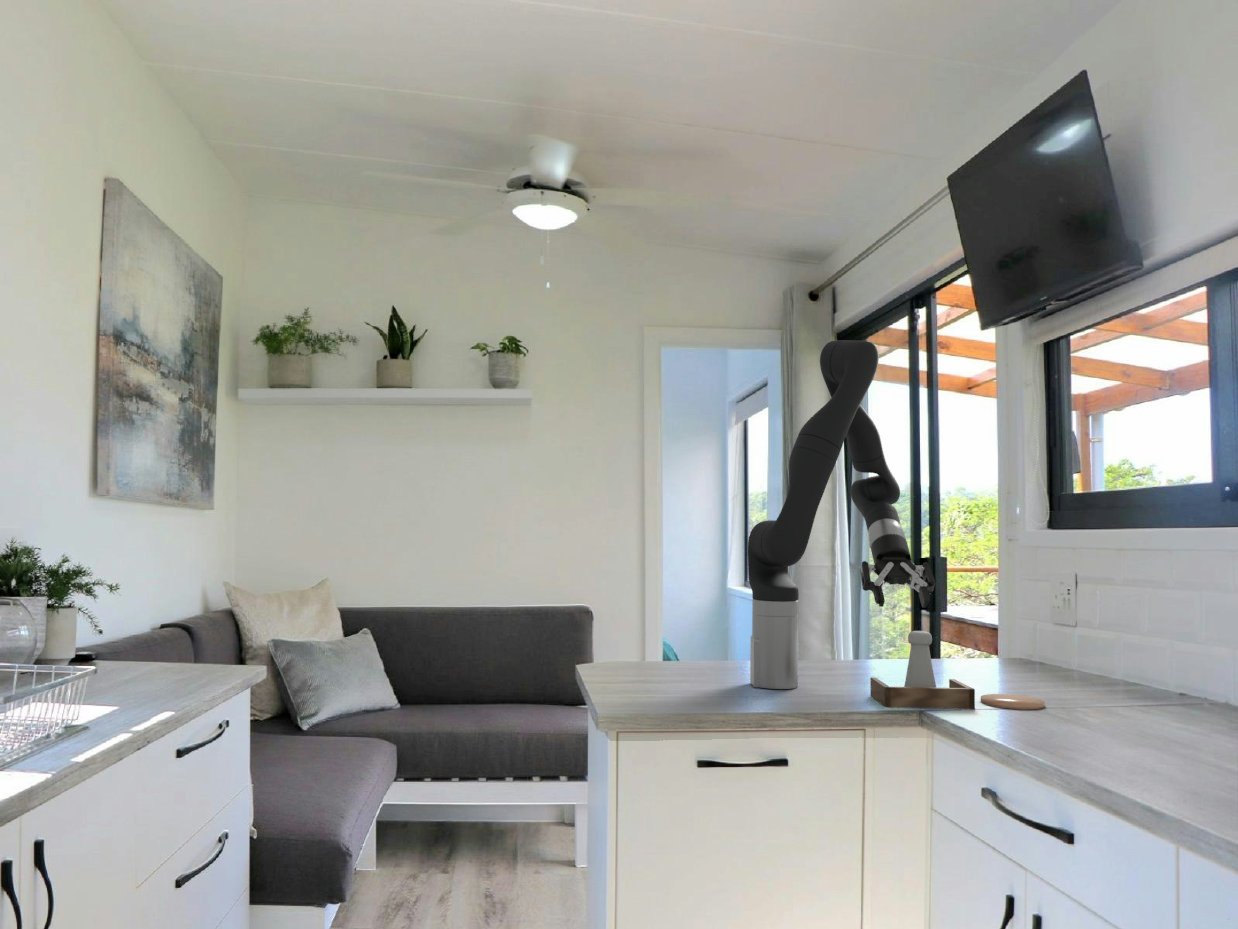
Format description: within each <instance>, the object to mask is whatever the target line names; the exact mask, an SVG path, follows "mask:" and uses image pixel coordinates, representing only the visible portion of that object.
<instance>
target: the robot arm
mask: <svg viewBox="0 0 1238 929" xmlns="http://www.w3.org/2000/svg"><path fill="white" fill-rule="evenodd" d="M879 358H880V357H879V350H878V348H877V346H876V345H875V344H874V343H873V342H872V341H868V340H857V339H856V340H855V339H854V340H851V339H850V340H845V339H843V340H842V339H841V340H840V339H839V340H831V341H828V342H827V343H826V344H825V345H824V346H823V348H822V350H821V352H820V356H819V365H820V366H819V368H820V371H821V375H822V377H823V380H824V383H825V386H826V388H827V390H828V392H829V395H830V399H829V400H828V401H827V402H826V403H825V404H824V405H823V406H822V407H821V408H820V409H819V410H817V411H816V413H814V414H813V415H812V416H811V417H810V418H809V419H808V420H807V421H806V422H805V423H804V425H803V426H802V427H801V429H800V431H799V433H798V434H797V437H796V439H795V442H794V444H793V447H792V450H791V451H790V455H789V459H788V490H787V495H786V498H785V501H784V503H783V505H782V507H781V508H782V509H781V510H780V512H779V514H778V517H777V518H776V519H775V520H771V519H770V520H763V521H759V522H757V523H756V524H755V525H754V526H753V527H752V528H751V531H750V533H749V536H748V541H747V570H748V571H747V573H748V583H749V585H750V589H751V591H752V594H751V597H752V600H751V601H752V611H751V612H752V613H751V614H752V615H751V616H752V618H751V621H752V622H751V623H752V624H751V625H752V626H751V628H752V629H751V635H750V658H749V659H750V664H749V665H750V666H749V667H750V672H749V673H750V674H749V675H750V678H749V680H750V684H751V685H752V687H753V688H761V689H762V688H763V689H771V690H787V689H789V690H790V689H795V688H798V687H799V594H800V593H799V588H798V586H797V584H795V583H794V581H793V580H792V579H791V577H790V574H789V567H791V566H793V565H795V564H797V563H798V562H799V561H800V560H801V559H802V557H803V555H804V554H805V552H806V550H807V547H808V544H809V540H810V537H811V533H812V530H813V526H814V522H815V518H816V515H817V511H818V508H819V506H820V504H821V501H822V498H823V496H824V494H825V490H826V488H827V484H828V482H829V479H830V477H831V474H832V473H833V470H834V468H835V467H836V464H837V460H838V458H839V456H840V454H841V450H842V448H843V444H844V442H845V439H846V440H847V446H848V451H849V454H850V459H851V462H852V463H851V464H852V467H853V469H854V470H855V471H856V472H859V473H864V474H865V473H866V474H870V473H871V474H876V475H873V476H869V477H863V478H859V479H857V480H854V482H853V483H852V485H851V486H850V491H849V492H850V493H849V494H850V498H851V501H852V503H853V504H854V505H855V507H856V508H857V511H858V512H860V514H861V515H862V517H863V519H864V521H865V525H866V529H867V533H868V542H869V544H868V546H869V548H870V551H871V556H872V559H873V564H870V563H869V562H868V561H866V560H864V561H862V562H861V566H860V571H859V572H860V579H861V586H862V587H861V588H862V590H863V591H865V592H867V591H871V593H872V594H873V598H874V601H875V604H876V605H878V607H881V608H882V607H884V605H885V600H886V599H885V596H884V591H883V587H884V586H885V585H886V584H888V585H900V586H901V585H906V586H907V587H908V588H910V589H911V590H912V589H914V590H915V591H916V592H917V593H918V597H919V601H920V604H921V607H922V608H924V609H925V608H927V606H928V605H929V604H930V599H931V596H930V593H933V591H934V589H935V586H936V583H937V582H936V579H935V576H934V574H933V571H932V569H931V566H930V564H929V562H926V561H925V562H923V563H922V564H921V565H919V564H918V565H915V563H914V562H913V560H912V555H911V552H910V549H909V546H908V545H909V544H908V542H907V538H906V537H907V536H906V535H905V532H904V529H903V527H902V525H901V521H900V517H899V513H898V510H897V508H896V507H895V506H894V504H896V503H897V502H898V501H899V498H900V495H901V490H900V485H899V483H898V481H897V479H896V478H895V476H894V475H893V473H892V472H891V469H890V468H889V465H888V464H887V460H886V458H885V454H884V450H883V445H882V440H881V435H880V431H879V429H878V427H877V425H876V423H875V422H874V420H873V418H871V417H870V415H869V414H868V412H867V410H865V409H864V407H863V405H862V402H863V400H864V398H865V396H866V394H867V392H868V390H869V388H870V386H871V385H872V382H873V380H874V378H875V376H876V373H877V370H878V366H879ZM872 572H873V573H874V574H876V575H877V576H878V577H877V578H876V579H875V580H874V581H872V580H871V574H872ZM921 577H922V578H921ZM929 592H930V593H929Z"/></svg>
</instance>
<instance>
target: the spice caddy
mask: <svg viewBox="0 0 1238 929" xmlns="http://www.w3.org/2000/svg"><path fill="white" fill-rule="evenodd" d="M948 683H949V684H948V685H949V686H948V687H936V688H933V687H904V686H889V684H886V683H885V682H883V681H882V680H880V679H879V678H877V677H870V694H869V695H870V697H871V698H872V699H874V700H875V701H876V702H878V703H879V704H880V705H882V706H883V707H885V708H907V709H910V708H915V709H956V710H959V709H960V710H961V709H962V710H976V707H975V705H976V702H975V701H976V696H975V695H976V693H975V692H976V690H975V688H974V687H971V686H969V685H967V684H966V683H963V682H961V681H959V680H957V679H954V678H949V679H948Z"/></svg>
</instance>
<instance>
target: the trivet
mask: <svg viewBox="0 0 1238 929" xmlns="http://www.w3.org/2000/svg"><path fill="white" fill-rule="evenodd" d="M980 703H981V704H984V705H987V706H991V707H995V708H1001V709H1010V710H1012V709H1013V710H1023V711H1024V710H1028V711H1029V710H1040V709H1044V708H1045V707H1046V704H1045V703H1046V702H1045V701H1044V700H1043V699H1041V698H1038V697H1033V696H1030V695H1029V696H1026V695H1020V694H1011V693H1010V694H1009V693H987V694H982V695H981V696H980Z"/></svg>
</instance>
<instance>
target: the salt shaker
mask: <svg viewBox="0 0 1238 929" xmlns="http://www.w3.org/2000/svg"><path fill="white" fill-rule="evenodd" d="M907 642H908V644H911V646H910V652H909V657H908V663H907V669H906V674H905V681H904V686H903V687H933V688H937V684H936V678H935V674H934V669H933V662H932V657H931V652H930V647H929V645H931V644H932V642H933V637H932V634H931V633H930V632H928V631H925V630H913V631H910V632H909V633H908V635H907Z"/></svg>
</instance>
